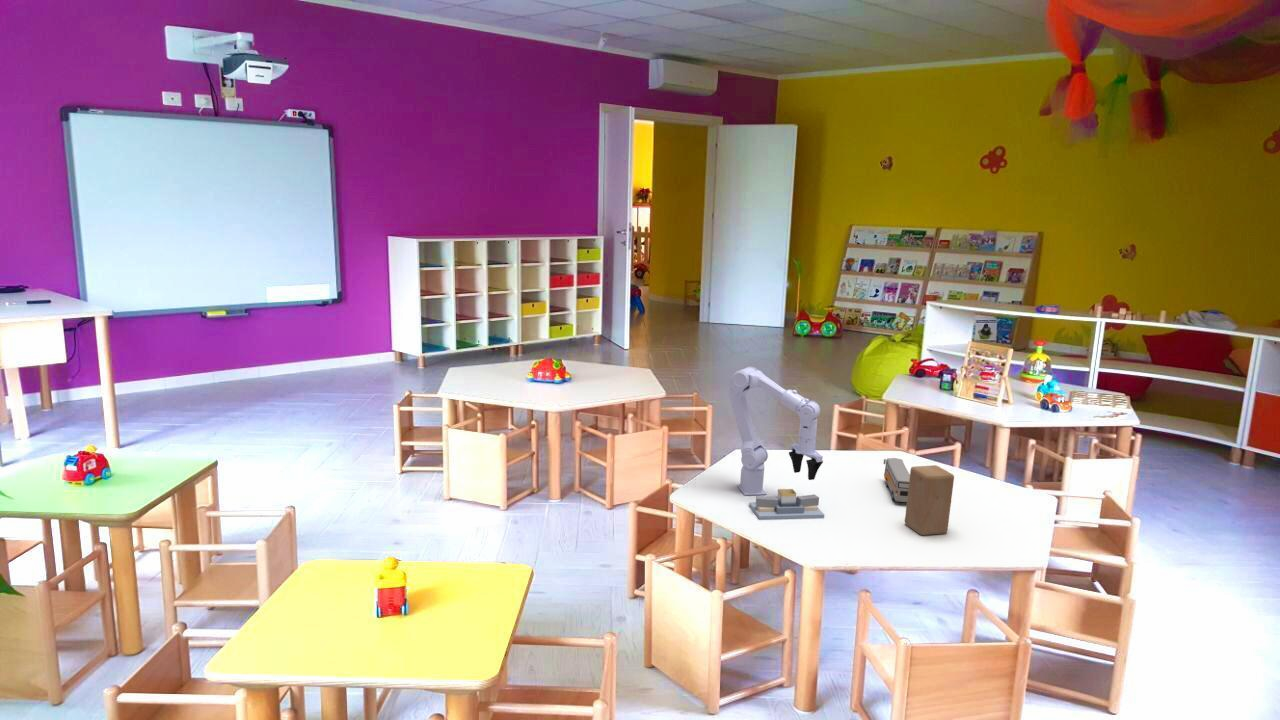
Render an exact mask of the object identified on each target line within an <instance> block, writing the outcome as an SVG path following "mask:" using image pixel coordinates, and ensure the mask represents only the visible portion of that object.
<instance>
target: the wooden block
mask: <svg viewBox="0 0 1280 720" xmlns="http://www.w3.org/2000/svg"><path fill="white" fill-rule="evenodd" d="M909 474H910V479H909V488H908V497H907V502H906V506H905V508H906V509H905V516H904V525H906V526H907V527H909V528H910V529H911V530H913V531H915V532H916V533H917V534H918V535H920V536H931V535H940V534H941V535H942V534H947V533H948V529H949V524H950V523H949V522H950V513H951V512H950V511H951V506H952V496H953V490H954V483H955V482H954V480H955V475H954V474H953V473H951V472H949V471H947V470H946V469H944V468H942V467H940V466H938V465H935V464H934V465H920V466H919V465H917V466H911V468H910V471H909Z"/></svg>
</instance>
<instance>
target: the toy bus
mask: <svg viewBox="0 0 1280 720" xmlns="http://www.w3.org/2000/svg"><path fill="white" fill-rule="evenodd" d="M883 465H885V466H884V467H885V468H884V473H883V477H884V480H885V487H886V488H889V491H890V493H891V500H892V501H893V502H902V503H907V497H908V488H909V479H910V471H908V469H907V467H906V465H905V463H904V461H903V459H902V458H896V457H891V458H890V457H889V458H884V459H883Z"/></svg>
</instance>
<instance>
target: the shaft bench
mask: <svg viewBox="0 0 1280 720" xmlns="http://www.w3.org/2000/svg"><path fill="white" fill-rule="evenodd" d="M819 503H820V497H819V496H817V495H816V494H807V495H799V496H797V495H796V505H795V507H780V506H779V505H778V497H777V496H767V495H755V501H751V502H750V501H749V502H748V507H749V508H750V509H751V511H752V512H753V513H754V514H755V516H756V517H757V519H758V520H760V521H762V520H764V521H766V520H797V519H798V520H802V519H806V520H807V519H824V518H825V514H824V512H823V511H822V510H821V509H820V508H819V507H818V506H819Z"/></svg>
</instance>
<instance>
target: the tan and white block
mask: <svg viewBox="0 0 1280 720" xmlns="http://www.w3.org/2000/svg"><path fill="white" fill-rule="evenodd" d="M776 497H778V505H779V506H780V507H795V505H796V497H797V492H796V491H795V490H794V489H793V488H780V489H779V488H778V489H777V496H776Z"/></svg>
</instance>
